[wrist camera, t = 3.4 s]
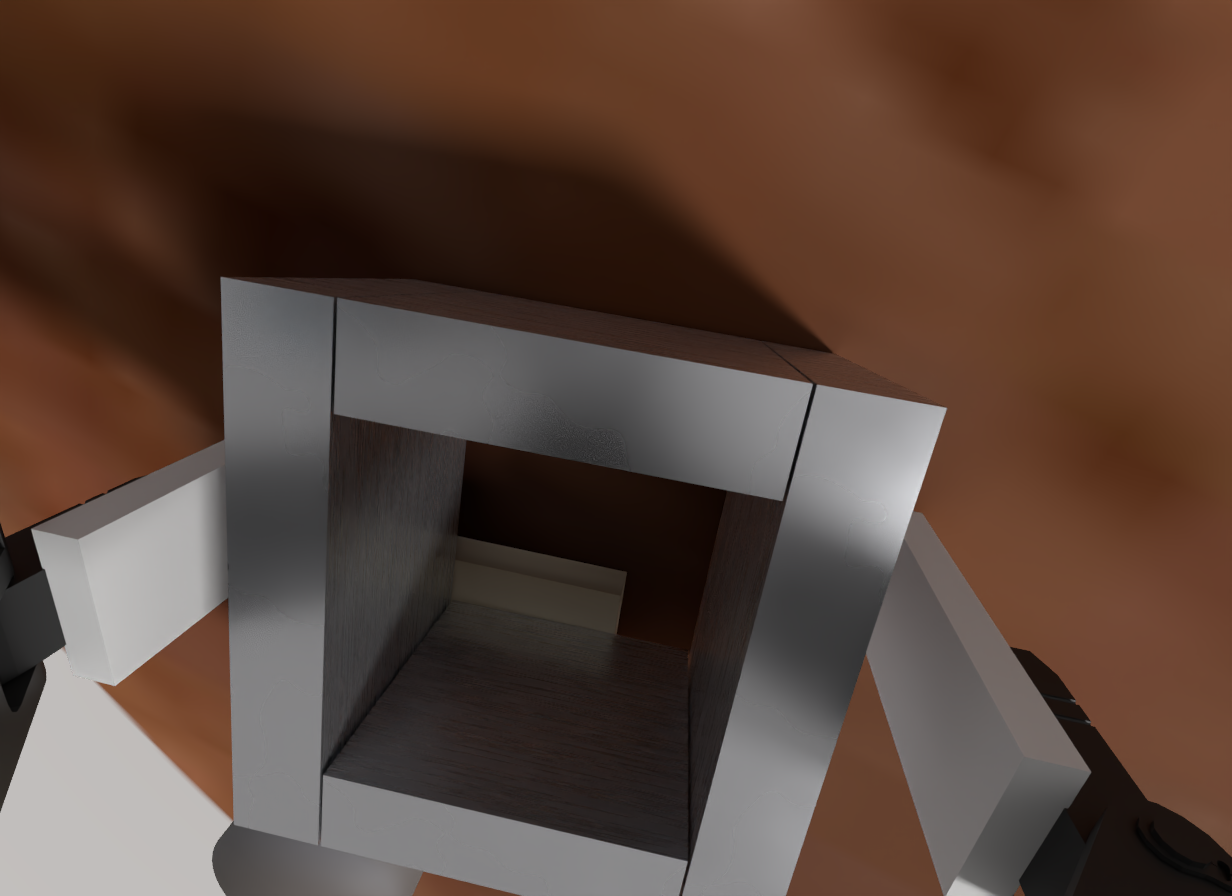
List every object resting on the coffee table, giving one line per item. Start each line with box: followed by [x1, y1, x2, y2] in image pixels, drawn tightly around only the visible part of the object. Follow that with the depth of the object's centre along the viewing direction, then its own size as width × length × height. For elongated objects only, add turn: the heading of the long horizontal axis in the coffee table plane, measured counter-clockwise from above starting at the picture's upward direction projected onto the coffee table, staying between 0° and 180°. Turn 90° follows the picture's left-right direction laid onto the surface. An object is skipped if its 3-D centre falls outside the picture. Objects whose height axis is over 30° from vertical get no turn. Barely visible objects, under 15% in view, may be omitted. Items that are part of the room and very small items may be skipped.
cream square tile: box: [212, 536, 627, 896], centre depth 15 cm, size 10×10×6 cm
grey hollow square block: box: [221, 277, 947, 896], centre depth 11 cm, size 9×9×6 cm
